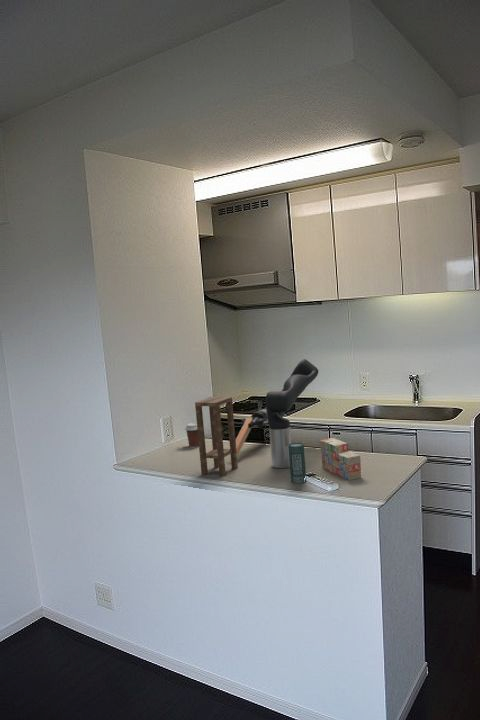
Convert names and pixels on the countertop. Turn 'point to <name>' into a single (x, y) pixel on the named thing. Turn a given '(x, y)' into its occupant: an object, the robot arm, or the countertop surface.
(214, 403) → the stool
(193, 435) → the coffee cup
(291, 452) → the can
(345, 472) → the stack of blocks
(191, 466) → the countertop surface
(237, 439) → the bar
